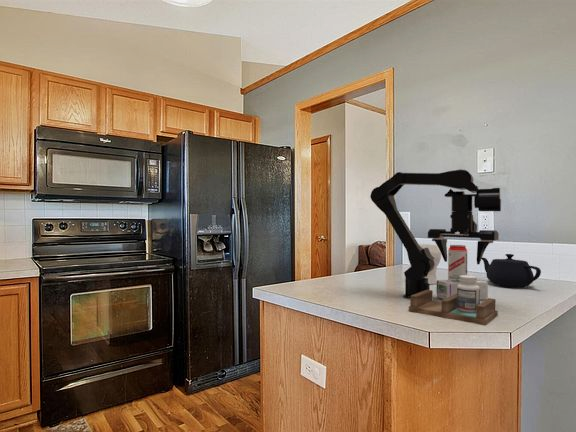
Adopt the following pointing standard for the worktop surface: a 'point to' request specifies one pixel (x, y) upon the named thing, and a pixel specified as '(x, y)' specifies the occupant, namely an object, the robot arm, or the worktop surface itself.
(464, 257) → the beer can
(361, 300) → the worktop surface
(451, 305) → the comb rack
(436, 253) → the cup
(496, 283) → the teapot
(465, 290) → the pill bottle
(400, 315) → the worktop surface
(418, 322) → the worktop surface
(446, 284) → the syrup box
